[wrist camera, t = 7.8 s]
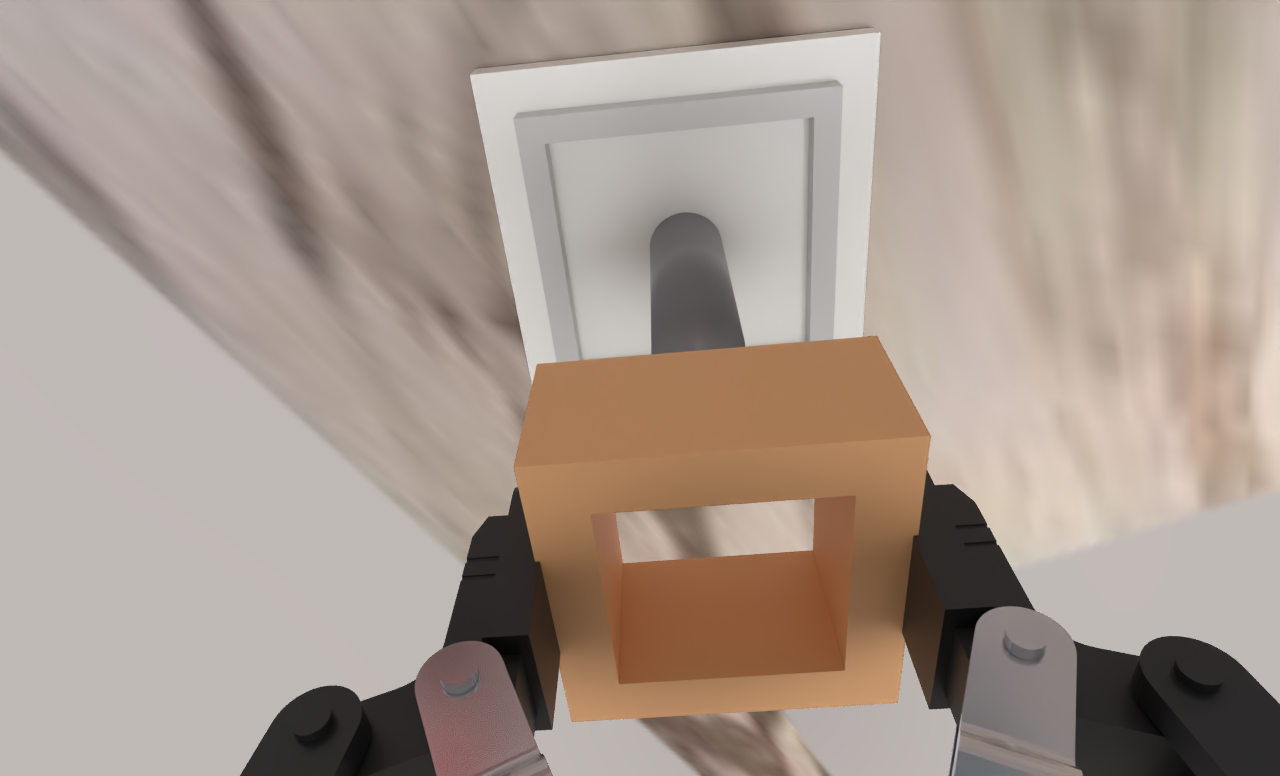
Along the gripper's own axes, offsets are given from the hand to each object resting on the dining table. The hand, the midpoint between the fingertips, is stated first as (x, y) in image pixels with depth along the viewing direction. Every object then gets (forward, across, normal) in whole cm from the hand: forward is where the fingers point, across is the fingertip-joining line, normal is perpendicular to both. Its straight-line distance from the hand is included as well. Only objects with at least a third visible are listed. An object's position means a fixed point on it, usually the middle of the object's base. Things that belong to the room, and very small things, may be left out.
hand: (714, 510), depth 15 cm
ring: (+1, 0, 0) cm, 1 cm away
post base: (+14, 0, 0) cm, 14 cm away
